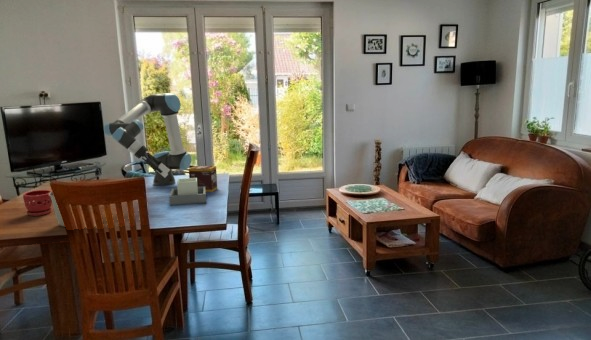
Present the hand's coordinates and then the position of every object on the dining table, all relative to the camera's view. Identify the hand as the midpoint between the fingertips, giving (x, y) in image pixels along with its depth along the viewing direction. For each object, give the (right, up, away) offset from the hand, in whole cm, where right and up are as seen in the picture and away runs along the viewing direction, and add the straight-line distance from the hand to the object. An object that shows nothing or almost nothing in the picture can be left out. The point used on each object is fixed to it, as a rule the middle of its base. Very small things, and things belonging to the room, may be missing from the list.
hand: (167, 173), depth 229 cm
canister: (-35, -25, -35) cm, 55 cm away
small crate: (+11, -15, +5) cm, 19 cm away
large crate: (+11, -16, +5) cm, 20 cm away
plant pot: (-64, -22, -17) cm, 69 cm away
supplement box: (+14, -11, +31) cm, 36 cm away
